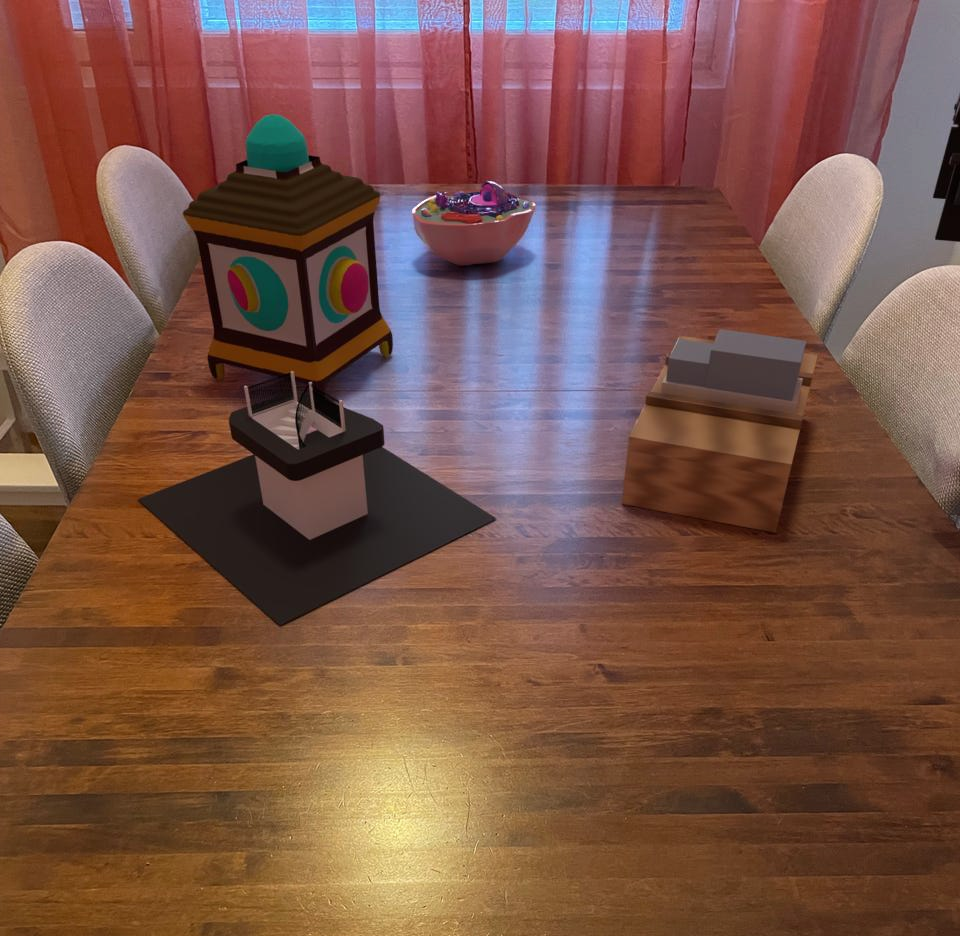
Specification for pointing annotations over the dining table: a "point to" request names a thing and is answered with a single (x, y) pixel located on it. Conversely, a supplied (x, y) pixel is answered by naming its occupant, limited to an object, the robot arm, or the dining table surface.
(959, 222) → the robot arm
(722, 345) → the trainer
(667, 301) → the dining table surface
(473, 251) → the cell model
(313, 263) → the decorative lantern
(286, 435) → the black-topped pedestal
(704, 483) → the stepped wooden block
